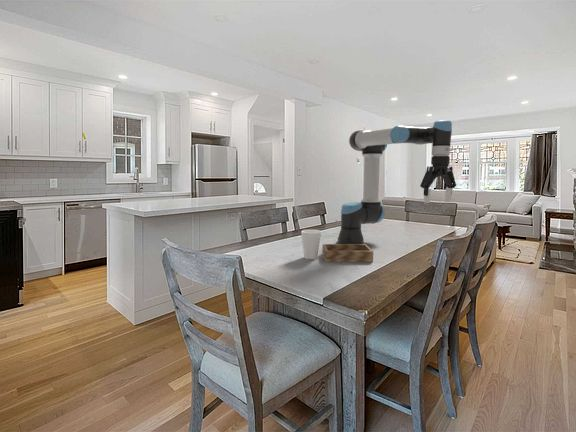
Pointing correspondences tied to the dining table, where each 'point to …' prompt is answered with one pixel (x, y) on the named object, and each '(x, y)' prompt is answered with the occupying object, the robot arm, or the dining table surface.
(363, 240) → the robot arm
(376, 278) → the dining table surface
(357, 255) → the walnut box
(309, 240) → the foam cup
